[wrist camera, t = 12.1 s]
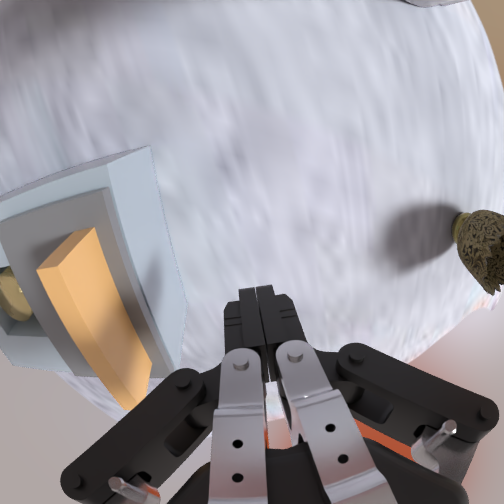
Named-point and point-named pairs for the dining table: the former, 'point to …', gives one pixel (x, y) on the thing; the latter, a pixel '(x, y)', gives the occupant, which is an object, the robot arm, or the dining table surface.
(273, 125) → the dining table surface
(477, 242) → the cup
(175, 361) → the housing
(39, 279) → the lid
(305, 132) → the dining table surface
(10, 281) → the brass cylinder
